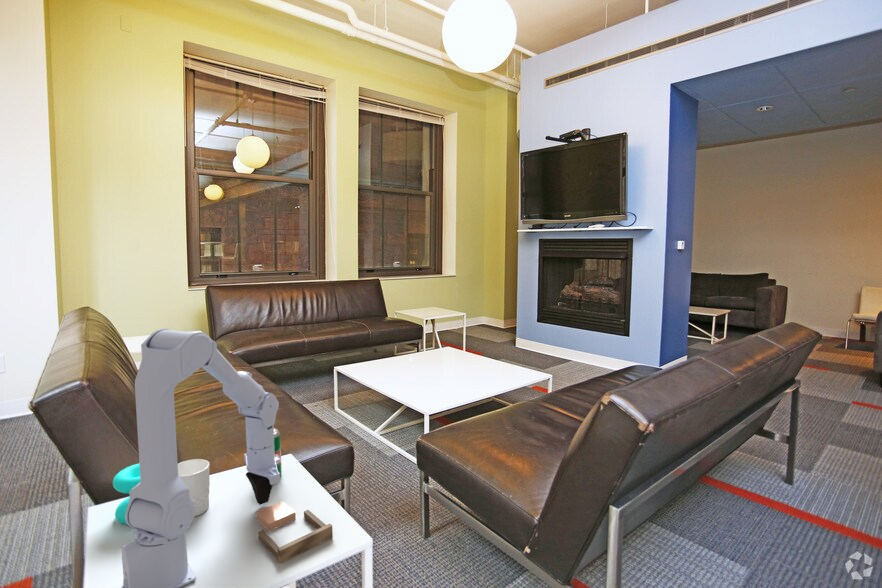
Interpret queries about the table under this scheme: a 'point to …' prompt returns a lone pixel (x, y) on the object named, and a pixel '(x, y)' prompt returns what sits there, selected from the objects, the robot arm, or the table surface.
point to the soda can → (277, 448)
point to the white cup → (196, 482)
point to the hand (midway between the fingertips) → (262, 502)
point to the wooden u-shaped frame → (301, 543)
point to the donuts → (126, 487)
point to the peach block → (275, 515)
